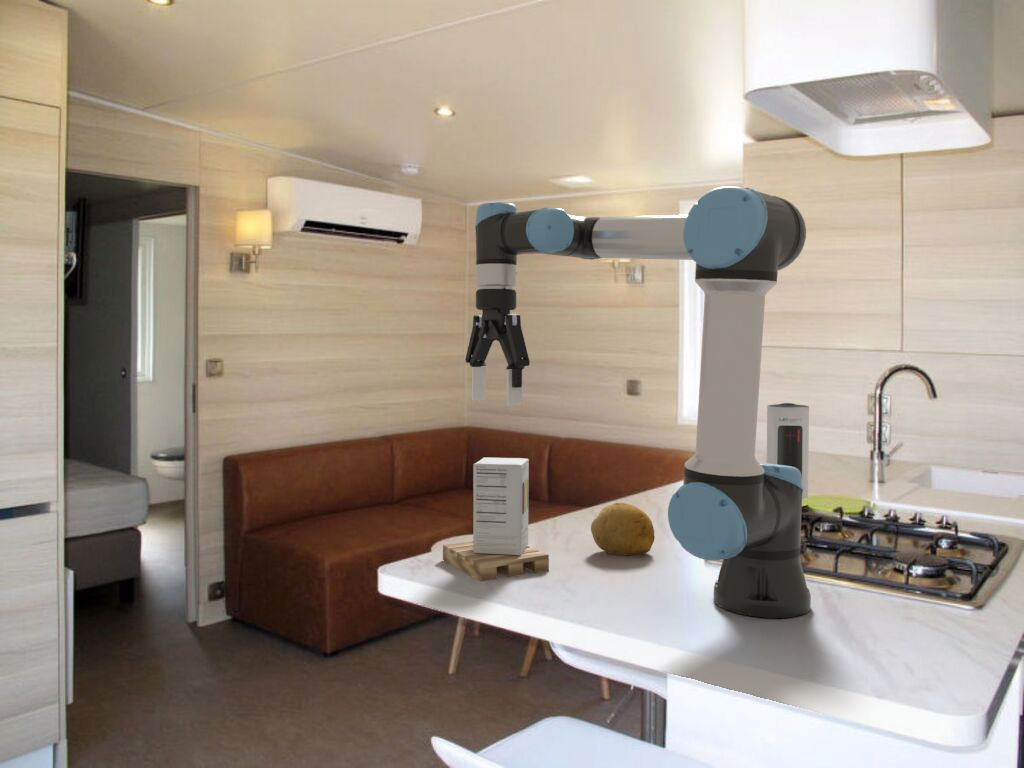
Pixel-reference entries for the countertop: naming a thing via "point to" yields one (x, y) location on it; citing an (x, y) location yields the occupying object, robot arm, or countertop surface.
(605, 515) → the potato
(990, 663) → the countertop surface
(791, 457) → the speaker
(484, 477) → the supplement box
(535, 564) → the wooden pallet
